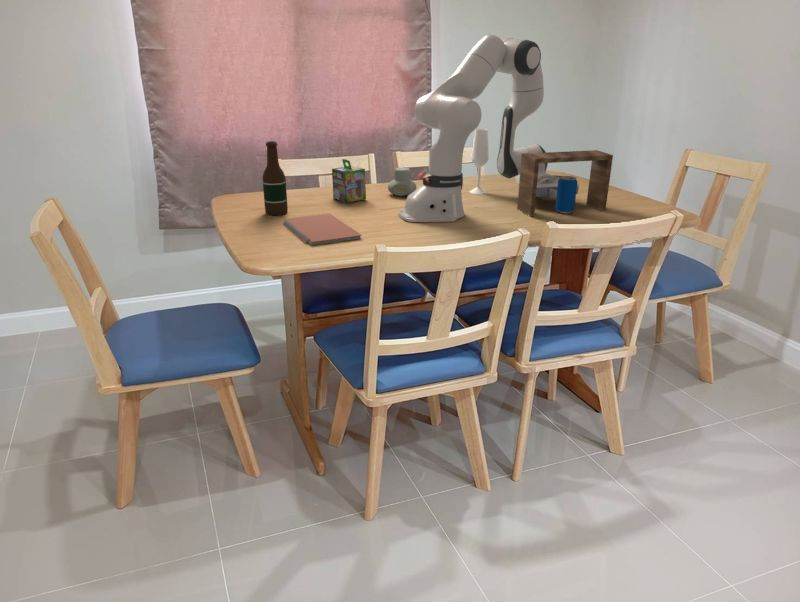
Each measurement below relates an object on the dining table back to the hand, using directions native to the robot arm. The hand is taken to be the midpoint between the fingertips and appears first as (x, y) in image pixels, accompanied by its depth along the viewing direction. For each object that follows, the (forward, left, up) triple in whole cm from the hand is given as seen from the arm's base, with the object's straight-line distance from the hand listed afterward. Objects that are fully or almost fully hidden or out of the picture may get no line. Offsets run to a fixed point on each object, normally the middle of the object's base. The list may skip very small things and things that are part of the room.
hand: (561, 194), depth 220 cm
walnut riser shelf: (0, -1, -5) cm, 6 cm away
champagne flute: (-18, +32, -6) cm, 37 cm away
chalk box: (-69, +33, -6) cm, 77 cm away
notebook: (-86, -4, -6) cm, 86 cm away
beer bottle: (-97, +20, -6) cm, 99 cm away
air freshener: (-48, +35, -6) cm, 60 cm away
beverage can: (0, -3, -6) cm, 7 cm away
